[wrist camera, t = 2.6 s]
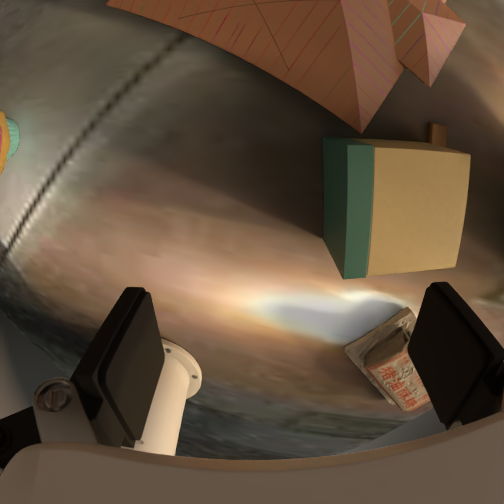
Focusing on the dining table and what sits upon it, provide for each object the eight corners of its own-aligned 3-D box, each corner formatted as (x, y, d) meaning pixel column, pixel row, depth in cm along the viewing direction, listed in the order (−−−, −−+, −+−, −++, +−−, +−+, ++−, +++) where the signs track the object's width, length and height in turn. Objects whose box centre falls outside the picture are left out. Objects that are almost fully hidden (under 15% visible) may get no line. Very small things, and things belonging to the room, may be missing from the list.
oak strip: (415, 248, 31) (417, 251, 30) (429, 122, 25) (432, 122, 24) (428, 248, 31) (431, 251, 30) (444, 125, 25) (447, 125, 24)
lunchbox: (323, 239, 30) (342, 279, 23) (322, 136, 26) (346, 144, 19) (417, 234, 30) (454, 268, 23) (424, 140, 26) (471, 152, 18)
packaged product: (452, 389, 35) (397, 422, 38) (440, 369, 39) (389, 400, 42) (423, 326, 29) (350, 373, 32) (407, 302, 34) (341, 345, 36)
